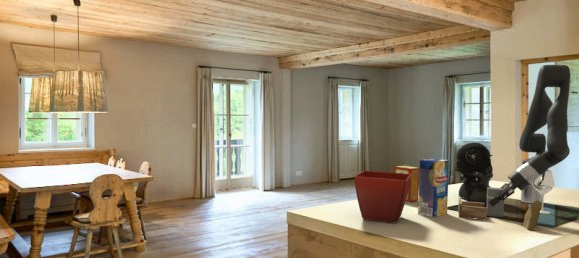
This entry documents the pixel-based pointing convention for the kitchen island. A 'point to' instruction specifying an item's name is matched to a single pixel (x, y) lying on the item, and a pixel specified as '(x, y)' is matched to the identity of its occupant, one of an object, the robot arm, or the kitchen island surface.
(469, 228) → the kitchen island surface
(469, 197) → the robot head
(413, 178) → the baking soda box
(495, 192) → the grey lidded box
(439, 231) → the kitchen island surface
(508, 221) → the kitchen island surface
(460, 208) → the brown open box
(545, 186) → the wineglass
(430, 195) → the beverage box
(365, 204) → the plant pot
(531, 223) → the rock
